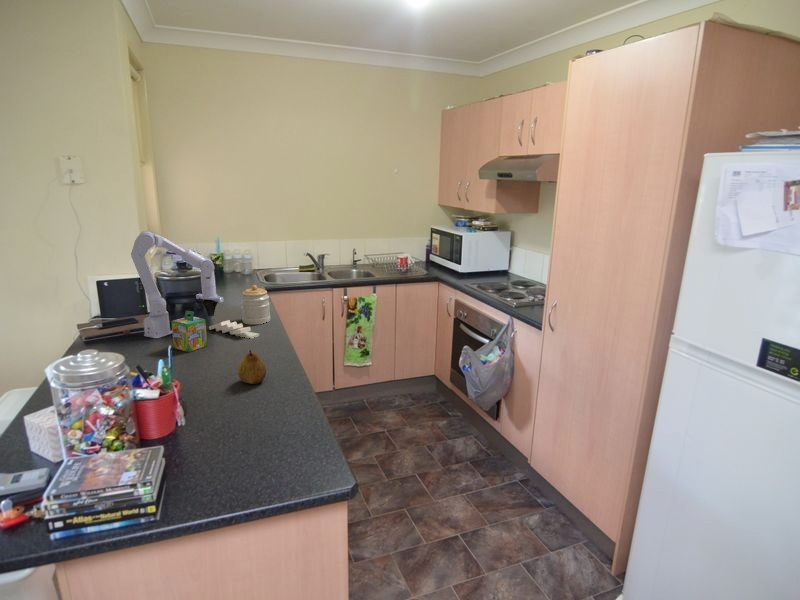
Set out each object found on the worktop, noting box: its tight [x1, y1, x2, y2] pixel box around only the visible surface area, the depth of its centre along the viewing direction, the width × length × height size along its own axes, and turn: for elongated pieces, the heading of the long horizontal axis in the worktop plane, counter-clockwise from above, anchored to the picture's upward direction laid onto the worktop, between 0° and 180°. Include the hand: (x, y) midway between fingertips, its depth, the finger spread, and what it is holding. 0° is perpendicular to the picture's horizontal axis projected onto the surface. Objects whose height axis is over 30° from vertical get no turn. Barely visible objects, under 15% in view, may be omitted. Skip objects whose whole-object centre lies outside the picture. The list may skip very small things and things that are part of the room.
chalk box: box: [170, 310, 208, 353], centre depth 185 cm, size 9×9×15 cm
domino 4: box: [229, 326, 252, 335], centre depth 201 cm, size 2×5×9 cm
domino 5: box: [234, 331, 260, 340], centre depth 202 cm, size 2×5×9 cm
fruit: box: [237, 349, 267, 385], centre depth 154 cm, size 9×9×12 cm
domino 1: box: [208, 319, 231, 331], centre depth 208 cm, size 2×5×9 cm
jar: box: [240, 284, 271, 326], centre depth 221 cm, size 13×13×18 cm
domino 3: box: [221, 322, 244, 334], centre depth 203 cm, size 2×5×9 cm
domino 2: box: [214, 321, 238, 332], centre depth 206 cm, size 2×5×9 cm
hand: (211, 315), depth 209 cm, fingers closed
